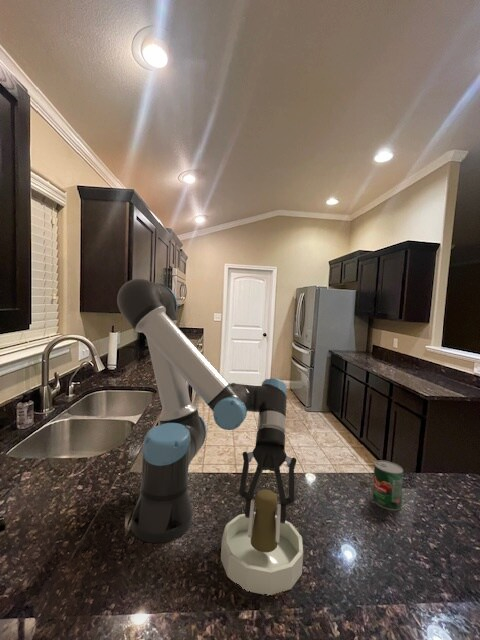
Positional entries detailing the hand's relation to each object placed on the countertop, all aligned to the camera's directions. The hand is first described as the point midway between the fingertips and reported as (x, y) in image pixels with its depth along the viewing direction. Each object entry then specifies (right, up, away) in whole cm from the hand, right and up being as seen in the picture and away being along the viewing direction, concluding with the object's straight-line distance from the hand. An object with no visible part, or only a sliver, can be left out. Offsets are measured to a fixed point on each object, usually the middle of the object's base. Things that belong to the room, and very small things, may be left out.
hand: (263, 538), depth 63 cm
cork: (0, -4, +4) cm, 5 cm away
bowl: (0, -7, +4) cm, 8 cm away
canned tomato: (+40, -10, +28) cm, 50 cm away
